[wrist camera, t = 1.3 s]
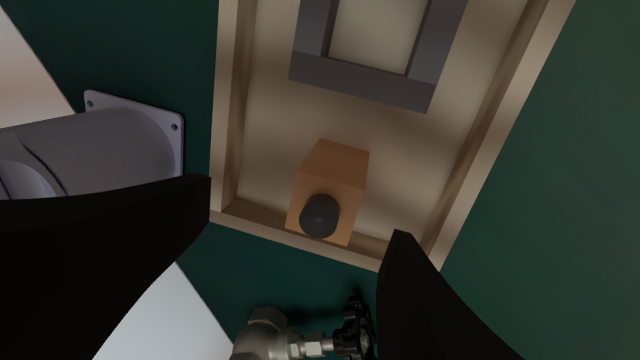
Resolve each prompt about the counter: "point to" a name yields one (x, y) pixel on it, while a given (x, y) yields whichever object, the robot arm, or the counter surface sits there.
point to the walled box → (371, 109)
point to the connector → (328, 191)
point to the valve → (290, 346)
